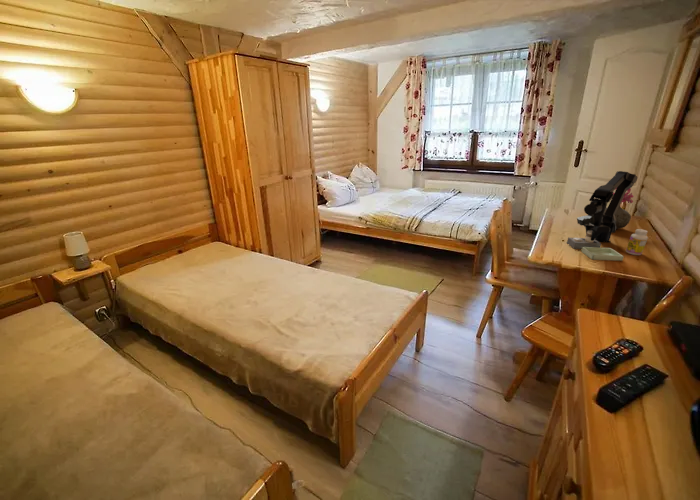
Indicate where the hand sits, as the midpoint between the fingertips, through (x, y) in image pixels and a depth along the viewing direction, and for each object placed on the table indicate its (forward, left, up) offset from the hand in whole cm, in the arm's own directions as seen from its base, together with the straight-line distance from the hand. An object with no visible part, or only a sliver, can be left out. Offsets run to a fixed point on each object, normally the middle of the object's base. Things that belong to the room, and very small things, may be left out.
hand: (589, 239), depth 176 cm
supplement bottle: (-19, +7, -5) cm, 21 cm away
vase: (-30, -35, -5) cm, 46 cm away
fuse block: (+3, 0, -4) cm, 5 cm away
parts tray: (0, +13, -4) cm, 14 cm away
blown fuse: (0, 0, -4) cm, 4 cm away
